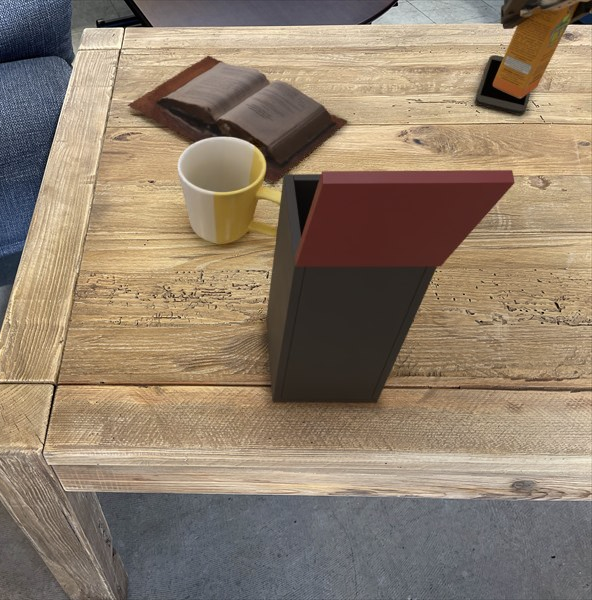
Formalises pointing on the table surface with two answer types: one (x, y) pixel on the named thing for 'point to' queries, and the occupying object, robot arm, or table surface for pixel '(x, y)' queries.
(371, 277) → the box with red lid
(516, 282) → the table surface
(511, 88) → the supplement box
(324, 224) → the red lid
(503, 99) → the smartphone
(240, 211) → the mug
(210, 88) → the book
